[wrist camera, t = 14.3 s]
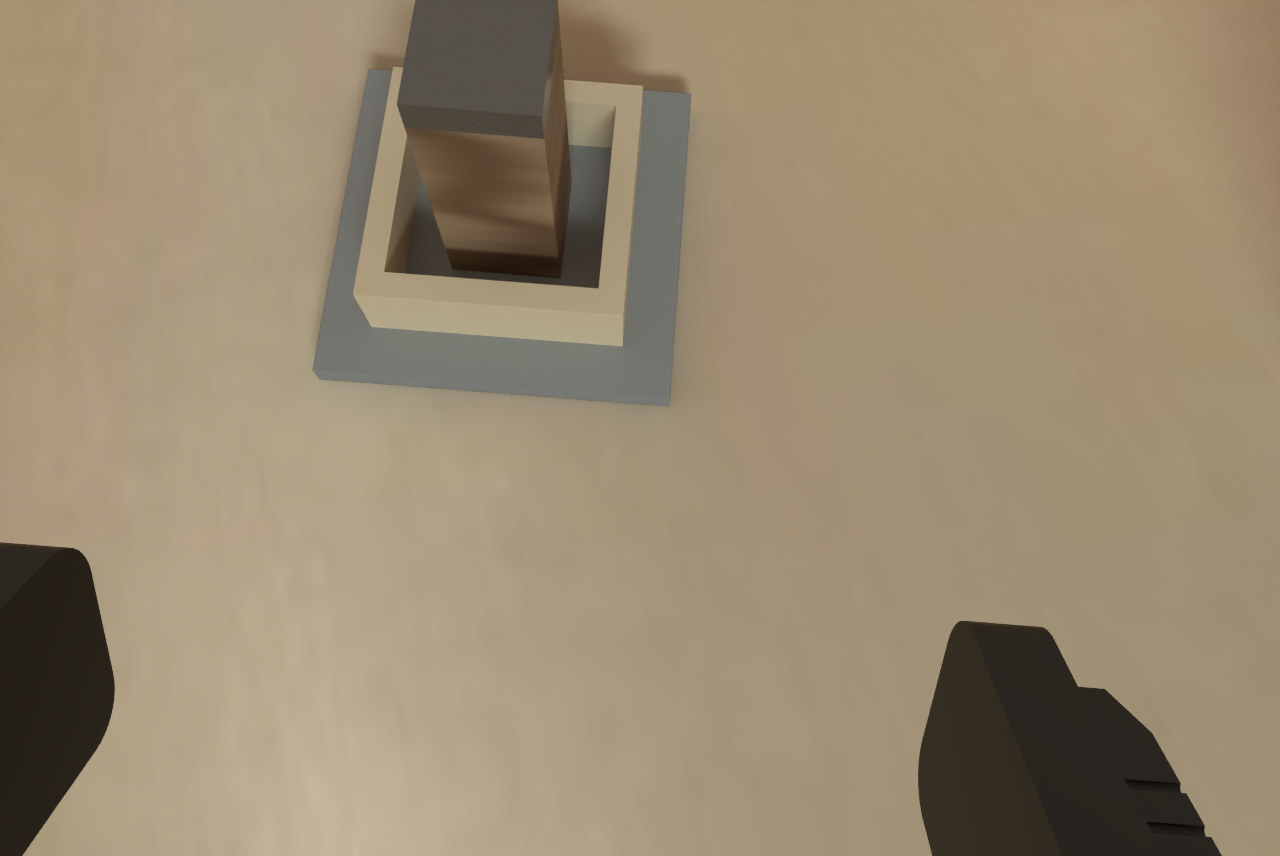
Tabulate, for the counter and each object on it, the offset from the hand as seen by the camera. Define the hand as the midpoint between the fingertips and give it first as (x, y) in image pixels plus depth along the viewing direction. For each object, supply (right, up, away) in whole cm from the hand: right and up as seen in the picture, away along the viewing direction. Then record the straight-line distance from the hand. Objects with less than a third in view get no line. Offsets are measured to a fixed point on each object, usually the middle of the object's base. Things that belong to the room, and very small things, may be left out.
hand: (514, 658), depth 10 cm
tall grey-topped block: (-4, +10, +32) cm, 34 cm away
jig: (-4, +10, +33) cm, 35 cm away
